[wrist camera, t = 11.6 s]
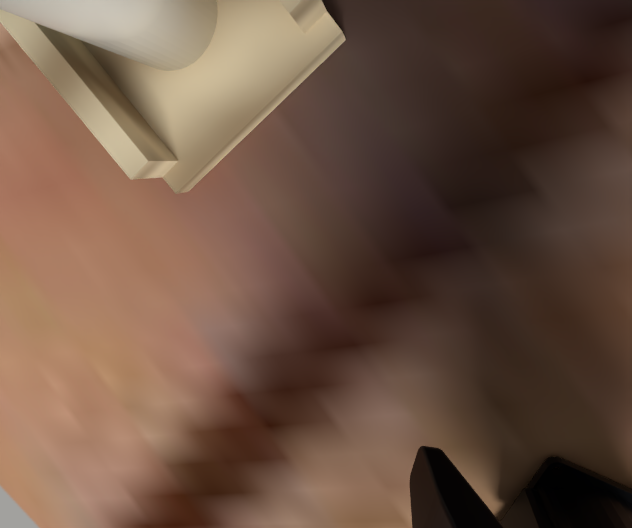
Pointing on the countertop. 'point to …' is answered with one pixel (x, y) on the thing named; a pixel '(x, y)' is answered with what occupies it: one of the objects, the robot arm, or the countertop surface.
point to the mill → (130, 26)
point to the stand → (186, 85)
